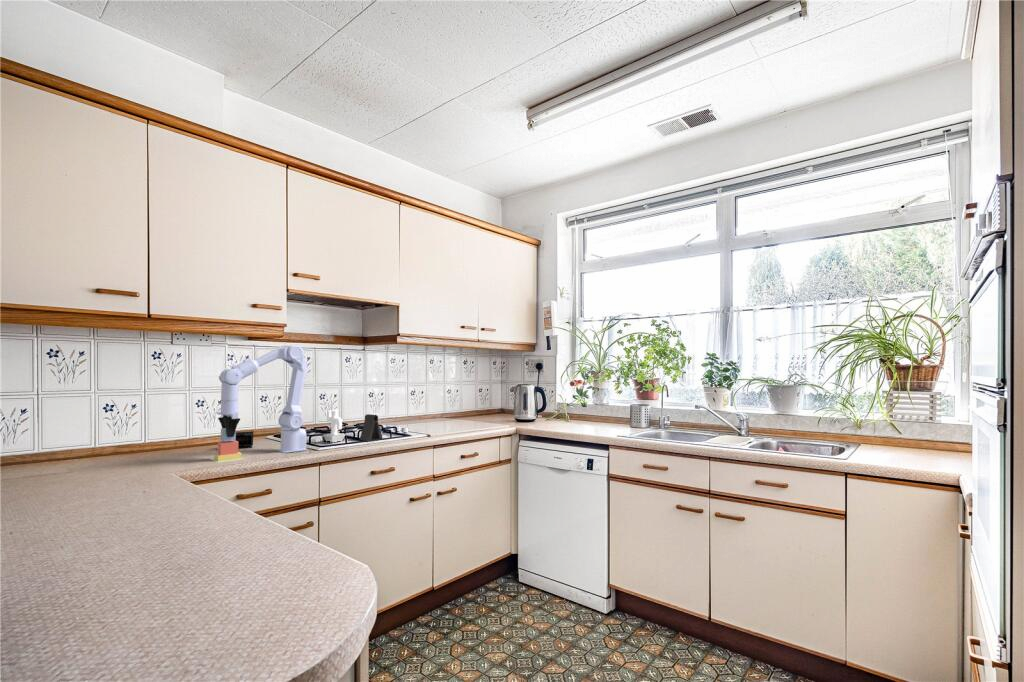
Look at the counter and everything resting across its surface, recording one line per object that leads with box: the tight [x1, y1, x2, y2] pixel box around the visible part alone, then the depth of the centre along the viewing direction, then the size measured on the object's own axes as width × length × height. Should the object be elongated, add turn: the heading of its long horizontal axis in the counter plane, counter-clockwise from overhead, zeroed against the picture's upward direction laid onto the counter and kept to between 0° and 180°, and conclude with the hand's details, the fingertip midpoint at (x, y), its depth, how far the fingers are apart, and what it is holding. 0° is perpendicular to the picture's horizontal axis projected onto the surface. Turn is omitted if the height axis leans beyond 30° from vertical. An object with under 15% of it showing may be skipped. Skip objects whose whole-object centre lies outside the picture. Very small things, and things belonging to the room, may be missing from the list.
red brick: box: [217, 441, 239, 455], centre depth 193 cm, size 6×4×4 cm, turn 135°
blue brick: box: [220, 427, 237, 442], centre depth 193 cm, size 4×4×4 cm
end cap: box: [236, 430, 254, 450], centre depth 217 cm, size 10×7×7 cm
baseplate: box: [210, 457, 246, 464], centre depth 193 cm, size 10×10×1 cm
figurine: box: [322, 409, 346, 442], centre depth 233 cm, size 7×9×15 cm
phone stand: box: [359, 413, 383, 442], centre depth 241 cm, size 9×6×12 cm, turn 148°
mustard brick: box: [213, 451, 243, 461], centre depth 193 cm, size 8×5×2 cm, turn 135°
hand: (228, 436), depth 193 cm, fingers closed on blue brick, 4 cm apart
